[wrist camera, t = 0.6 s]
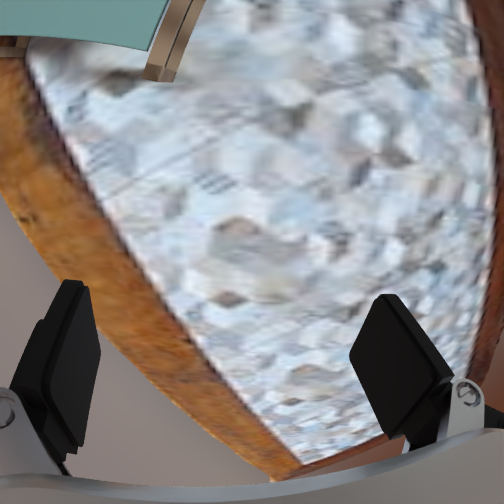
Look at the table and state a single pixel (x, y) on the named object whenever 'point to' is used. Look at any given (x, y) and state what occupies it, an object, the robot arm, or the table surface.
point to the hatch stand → (161, 45)
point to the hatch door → (84, 20)
